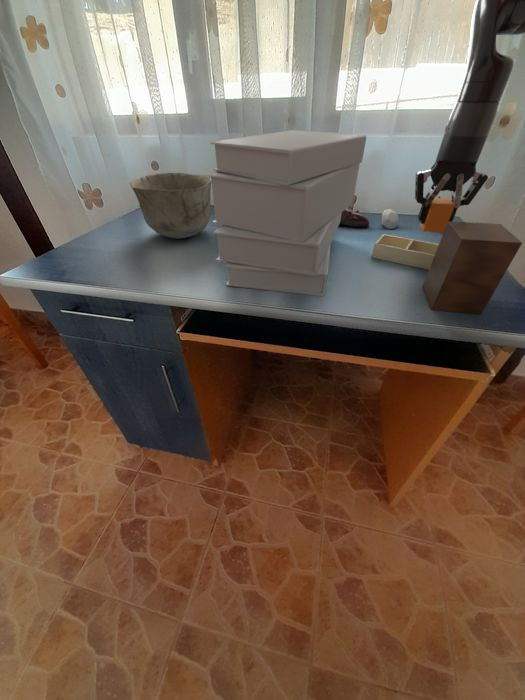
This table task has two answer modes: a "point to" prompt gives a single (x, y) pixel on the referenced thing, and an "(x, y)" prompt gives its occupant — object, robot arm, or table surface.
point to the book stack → (282, 206)
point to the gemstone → (390, 218)
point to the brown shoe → (353, 219)
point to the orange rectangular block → (438, 215)
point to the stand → (469, 266)
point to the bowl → (174, 202)
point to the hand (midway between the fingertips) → (433, 222)
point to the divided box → (405, 251)
